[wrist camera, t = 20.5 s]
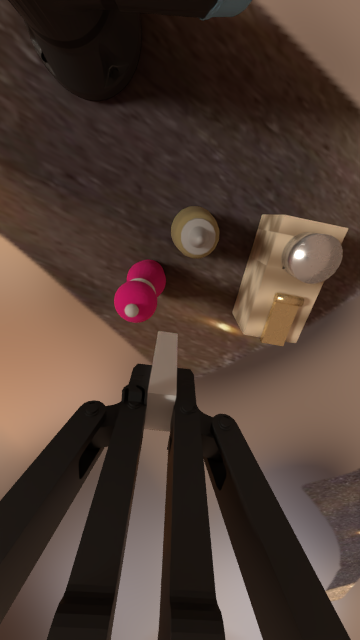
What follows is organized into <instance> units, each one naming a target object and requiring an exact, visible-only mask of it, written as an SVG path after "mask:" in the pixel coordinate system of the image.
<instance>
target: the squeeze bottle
mask: <svg viewBox="0 0 360 640" xmlns="http://www.w3.org/2000/svg"><path fill="white" fill-rule="evenodd" d="M171 237H172V239H173V242H174V244H175V246H176V247H177V248H178V249H179V250H180V251H181V252H182V253H183V254H184V255H186V256H188V257H190V258H202V257H205V256H207V255H209V254H210V253H211V252H212V251H213V250H214V249H215V248H216V245H217V243H218V241H219V228H218V225H217V222H216V220H215V218H214V217H213V216H212V215H211V214H210V212H209V211H208V210H206V209H204V208H202V207H199V206H190V207H187V208H185V209H183V210H181V211H180V212H179V213H178V214H177V216H176V217H175V218H174V221H173V223H172V226H171Z"/></svg>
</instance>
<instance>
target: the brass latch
mask: <svg viewBox="0 0 360 640" xmlns="http://www.w3.org/2000/svg"><path fill="white" fill-rule="evenodd" d="M273 300H274V301H273V304H272V307H271V309H270V312H269V315H268V318H267V321H266V324H265V326H264V329H263V332H262V335H261V338H260V341H261V342H262V343H268V344H274V345H280V346H283V345H284V342H285V340H286V337H287V335H288V333H289V330H290V328H291V325H292V323H293V320H294V318H295V315H296V313H297V310H298V308H299V307H301V306H303V304H304V298H303V297H298V296H293V295H287V294H282V293H275V295H274V299H273Z"/></svg>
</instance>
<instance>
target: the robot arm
mask: <svg viewBox="0 0 360 640" xmlns="http://www.w3.org/2000/svg"><path fill="white" fill-rule="evenodd" d="M8 1H9V2H10V3H11V4H12V5H13V7H14V8H15V9H16V10H17V11H18V13H19V14H20V15H21V16H22V17H23V19H24V22H25V24H26V27H27V30H28V32H29V35H30V38H31V40H32V43H33V45H34V47H35V49H36V51H37V53H38V55H39V57H40V59H41V60H42V62H43V63H44V65H45V66H46V68H47V69H48V70H49V72H50V73H51V74H52V75H53V76H54V77H55V78H56V79H57V80H58V82H59V83H60V84H61V85H62V86H63V87H65V88H66V89H67V90H68V91H70V92H71V93H73V94H75V95H76V96H78V97H81V98H83V99H87V100H94V101H98V100H105V99H108V98H111V97H113V96H115V95H116V94H118V93H119V92H120V91H121V90H122V89H123V88H124V87H125V86H126V85H127V84H128V82H129V81H130V79H131V78H132V76H133V74H134V72H135V70H136V67H137V64H138V60H139V56H140V51H141V40H142V32H141V21H140V15H139V13H148V14H160V15H173V16H185V17H198V18H199V19H200V20H205V19H206V20H208V19H210V18H211V17H233V16H236V15H238V14H240V13H241V12H242V11H244V10H245V9H246V8H247V6H248V5H249V4H250V2H251V1H252V0H8ZM177 338H178V334H176V333H168V332H161V331H158V336H157V342H156V347H155V353H154V359H153V364H152V365H145V364H137V365H136V366H135V367H134V368H133V371H132V375H131V378H130V382H129V384H128V385H127V386H126V387H124V389H123V390H122V401H121V402H120V403H117V404H115V405H110V406H105V405H104V404H103V403H101V402H100V401H88V402H86V403H84V404H83V405H82V406H80V408H79V409H78V410H77V411H76V412H75V413H74V415H73V416H72V417H71V418H70V419H69V420H68V422H67V423H66V424H65V425H64V426H63V427H62V429H61V430H60V431H59V432H58V433H57V435H56V436H55V437H54V438H53V439H52V440H51V442H50V443H49V444H48V445H47V446H46V448H45V449H44V450H43V451H42V452H41V453H40V455H39V456H38V457H37V458H36V459H35V460H34V462H33V463H32V464H31V465H30V466H29V468H28V469H27V470H26V471H25V472H24V473H23V475H22V476H21V477H20V478H19V479H18V480H17V482H16V483H15V484H14V485H13V486H12V488H11V489H10V490H9V491H8V492H7V494H6V495H5V496H4V497H3V498H2V500H1V501H0V623H1V622H2V620H3V618H4V617H5V615H6V613H7V612H8V610H9V608H10V607H11V605H12V603H13V602H14V600H15V598H16V596H17V595H18V593H19V591H20V590H21V588H22V586H23V585H24V583H25V581H26V579H27V578H28V576H29V574H30V573H31V571H32V569H33V568H34V566H35V564H36V563H37V561H38V559H39V558H40V556H41V554H42V552H43V551H44V549H45V547H46V546H47V544H48V542H49V541H50V539H51V537H52V536H53V534H54V532H55V531H56V529H57V527H58V525H59V524H60V522H61V520H62V519H63V517H64V515H65V514H66V512H67V510H68V509H69V507H70V505H71V503H72V502H73V500H74V498H75V497H76V495H77V493H78V492H79V490H80V488H81V487H82V485H83V483H84V481H85V480H86V478H87V476H88V475H89V473H90V471H91V469H92V468H93V466H94V464H95V463H96V461H97V459H98V458H99V456H100V454H101V453H102V451H103V449H104V447H107V446H108V450H107V453H106V457H105V460H104V463H103V467H102V470H101V473H100V477H99V480H98V484H97V487H96V490H95V494H94V498H93V500H92V504H91V508H90V511H89V514H88V517H87V521H86V524H85V528H84V531H83V534H82V538H81V541H80V544H79V548H78V551H77V555H76V558H75V561H74V565H73V568H72V571H71V575H70V578H69V581H68V585H67V588H66V591H65V593H64V596H63V598H62V600H61V601H60V603H59V605H58V608H57V610H56V613H55V615H54V619H53V622H52V625H51V628H50V631H49V634H48V637H47V640H111V634H112V627H113V620H114V613H115V608H116V601H117V595H118V589H119V583H120V576H121V570H122V564H123V557H124V550H125V545H126V538H127V532H128V526H129V520H130V514H131V507H132V500H133V495H134V489H135V482H136V476H137V470H138V464H139V456H140V451H141V445H142V438H143V430H144V429H150V430H159V431H170V436H169V441H168V447H167V450H168V464H167V485H166V502H165V503H166V504H165V521H164V541H163V561H162V579H161V600H160V618H159V632H158V640H225V632H224V625H223V619H222V615H221V611H220V609H219V607H218V604H217V600H216V593H215V583H214V571H213V560H212V549H211V538H210V527H209V516H208V506H207V494H206V483H205V471H204V462H205V465H206V467H207V470H208V474H209V477H210V480H211V483H212V486H213V489H214V492H215V495H216V498H217V501H218V504H219V507H220V510H221V513H222V516H223V519H224V522H225V525H226V529H227V531H228V535H229V537H230V541H231V544H232V547H233V550H234V553H235V556H236V559H237V562H238V565H239V568H240V571H241V574H242V577H243V580H244V583H245V586H246V589H247V592H248V595H249V598H250V601H251V604H252V607H253V610H254V614H255V616H256V620H257V623H258V626H259V629H260V632H261V635H262V638H263V640H351V639H350V638H349V636H348V634H347V632H346V630H345V628H344V626H343V624H342V622H341V621H340V618H339V617H338V615H337V613H336V611H335V609H334V607H333V605H332V603H331V601H330V600H329V598H328V596H327V594H326V592H325V590H324V588H323V586H322V584H321V582H320V581H319V579H318V577H317V575H316V573H315V571H314V570H313V567H312V566H311V564H310V562H309V560H308V558H307V556H306V554H305V552H304V550H303V548H302V546H301V544H300V543H299V541H298V539H297V537H296V535H295V534H294V531H293V529H292V527H291V526H290V524H289V522H288V520H287V518H286V516H285V514H284V512H283V511H282V508H281V507H280V505H279V503H278V501H277V499H276V497H275V495H274V493H273V491H272V489H271V488H270V486H269V484H268V482H267V480H266V478H265V476H264V474H263V472H262V471H261V469H260V467H259V465H258V463H257V461H256V459H255V457H254V455H253V453H252V452H251V450H250V448H249V446H248V444H247V442H246V440H245V438H244V436H243V435H242V433H241V431H240V429H239V427H238V425H237V423H236V422H235V420H234V419H233V418H231V417H230V416H228V415H226V414H218V415H216V416H214V417H211V416H208V415H206V414H204V413H203V412H201V411H200V410H199V409H198V407H197V405H196V396H195V384H194V374H193V373H192V371H191V370H190V369H182V368H177ZM203 459H204V460H203ZM203 461H204V462H203Z"/></svg>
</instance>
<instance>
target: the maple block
mask: <svg viewBox="0 0 360 640" xmlns="http://www.w3.org/2000/svg"><path fill="white" fill-rule="evenodd" d="M347 231H348V228H344V227H339V226H335V225H330V224H325V223H321V222H316V221H311V220H307V219H302V218H297V217H293V216H288V215H262V217H261V220H260V224H259V227H258V230H257V233H256V237H255V240H254V243H253V246H252V250H251V253H250V256H249V260H248V263H247V266H246V269H245V273H244V276H243V279H242V282H241V286H240V289H239V292H238V296H237V299H236V302H235V305H234V309H233V312H232V313H233V315H234V317H235V319H236V321H237V323H238V325H239V327H240V329H241V330H242V332H243V334H244V335H250V336H256V337H261V335H262V332H263V329H264V326H265V324H266V321H267V318H268V315H269V312H270V309H271V307H272V304H273V301H274V300H273V299H274V295H275V293H282V294H287V295H293V296H298V297H303V298H304V304H303V306H301V307H299V308H298V310H297V313H296V315H295V318H294V320H293V323H292V325H291V328H290V330H289V333H288V335H287V337H286V340H285V341H286V342H292V343H296V342H297V340H298V338H299V335H300V333H301V331H302V329H303V327H304V324H305V322H306V320H307V318H308V316H309V314H310V311H311V309H312V307H313V305H314V303H315V300H316V298H317V296H318V294H319V292H320V289H321V287H322V285H323V283H324V281H322V282H320V283H315V284H308V283H304V282H302V281H300V280H298V279H297V278H295V277H293V276H291V275H289V274H288V273H287V272H286V271H285V270H284V268H283V266H282V262H281V257H282V252H283V250H284V248H285V246H286V244H287V243H288V242H289V241H290V240H291V239H292V238H293V237H294V236H296V235H298V234H301V233H304V232H313V233H320V234H327V235H331V236H333V237H335V238H336V239H337V240H338V241H339V242H340V244H342V241H343V239H344V237H345V235H346V233H347Z"/></svg>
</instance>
